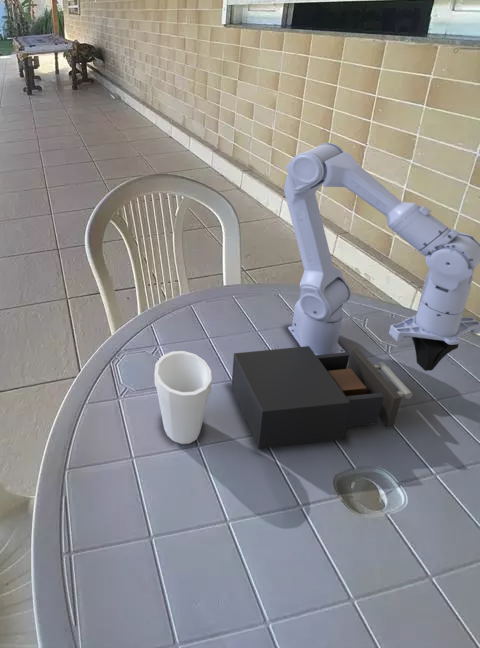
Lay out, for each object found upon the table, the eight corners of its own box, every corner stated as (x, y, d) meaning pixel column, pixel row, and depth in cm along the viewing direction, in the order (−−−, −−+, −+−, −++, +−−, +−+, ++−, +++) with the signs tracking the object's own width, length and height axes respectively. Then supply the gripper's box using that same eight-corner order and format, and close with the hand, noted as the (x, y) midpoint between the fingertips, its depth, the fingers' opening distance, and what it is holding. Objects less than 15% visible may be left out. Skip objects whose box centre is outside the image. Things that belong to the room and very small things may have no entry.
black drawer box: (303, 379, 83) (309, 345, 80) (342, 439, 71) (350, 402, 68) (231, 387, 83) (233, 353, 80) (258, 448, 71) (262, 411, 68)
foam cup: (213, 414, 77) (216, 360, 73) (203, 461, 70) (205, 402, 65) (163, 398, 81) (163, 345, 77) (148, 440, 74) (146, 384, 69)
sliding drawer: (372, 372, 83) (378, 345, 80) (417, 424, 72) (426, 395, 70) (284, 381, 82) (288, 354, 80) (316, 435, 72) (322, 406, 69)
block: (324, 388, 79) (327, 370, 77) (347, 386, 79) (350, 368, 77) (338, 409, 75) (342, 390, 73) (362, 406, 75) (366, 388, 73)
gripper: (418, 323, 66) (401, 388, 71) (506, 315, 67) (484, 380, 72) (386, 296, 73) (373, 357, 78) (467, 288, 73) (449, 349, 78)
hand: (424, 366), depth 75 cm, fingers closed
